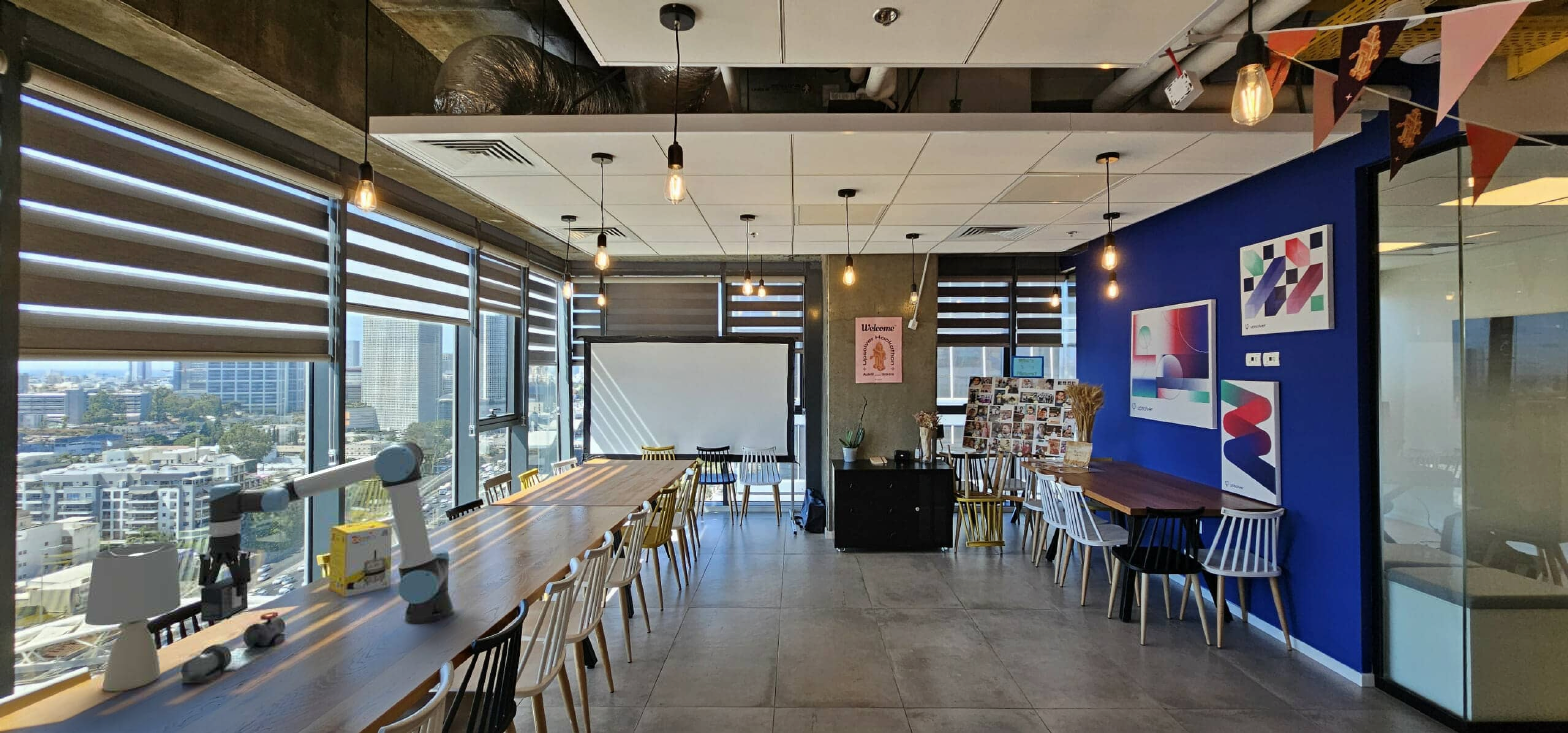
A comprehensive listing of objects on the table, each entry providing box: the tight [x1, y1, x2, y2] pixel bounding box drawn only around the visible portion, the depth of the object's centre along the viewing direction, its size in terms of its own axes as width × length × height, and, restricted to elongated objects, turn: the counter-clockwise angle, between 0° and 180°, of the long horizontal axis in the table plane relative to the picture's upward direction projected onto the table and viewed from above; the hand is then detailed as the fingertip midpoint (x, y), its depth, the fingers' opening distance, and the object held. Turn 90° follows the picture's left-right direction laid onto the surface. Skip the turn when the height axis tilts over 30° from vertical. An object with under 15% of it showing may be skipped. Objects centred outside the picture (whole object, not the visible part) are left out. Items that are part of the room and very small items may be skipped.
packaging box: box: [328, 519, 393, 598], centre depth 254 cm, size 16×16×25 cm
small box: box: [200, 576, 249, 623], centre depth 195 cm, size 11×6×10 cm, turn 5°
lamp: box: [84, 542, 182, 693], centre depth 174 cm, size 19×19×37 cm
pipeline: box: [180, 611, 286, 684], centre depth 188 cm, size 31×11×9 cm, turn 4°
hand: (224, 606), depth 195 cm, fingers closed on small box, 6 cm apart
